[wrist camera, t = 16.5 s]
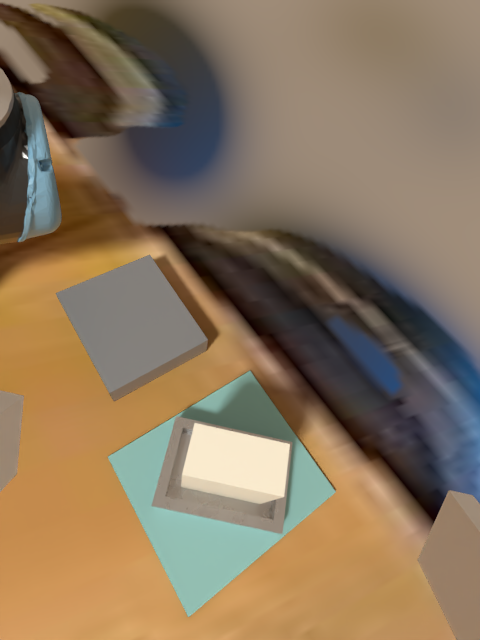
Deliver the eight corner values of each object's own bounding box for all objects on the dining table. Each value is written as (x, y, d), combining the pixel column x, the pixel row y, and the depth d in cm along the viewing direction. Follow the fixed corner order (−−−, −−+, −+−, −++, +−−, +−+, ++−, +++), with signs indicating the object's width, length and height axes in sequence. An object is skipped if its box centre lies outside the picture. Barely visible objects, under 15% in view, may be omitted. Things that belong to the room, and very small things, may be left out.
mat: (188, 616, 33) (188, 617, 33) (108, 457, 38) (107, 456, 38) (334, 492, 40) (335, 491, 40) (249, 371, 45) (249, 370, 45)
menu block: (259, 504, 37) (284, 497, 29) (181, 487, 37) (181, 474, 28) (265, 462, 39) (290, 444, 31) (191, 446, 39) (194, 422, 30)
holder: (276, 533, 37) (282, 533, 35) (152, 506, 37) (151, 505, 35) (286, 446, 41) (292, 442, 39) (176, 421, 41) (175, 416, 39)
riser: (113, 401, 41) (109, 393, 39) (62, 306, 46) (55, 293, 43) (206, 350, 46) (208, 339, 43) (151, 268, 50) (149, 254, 48)
